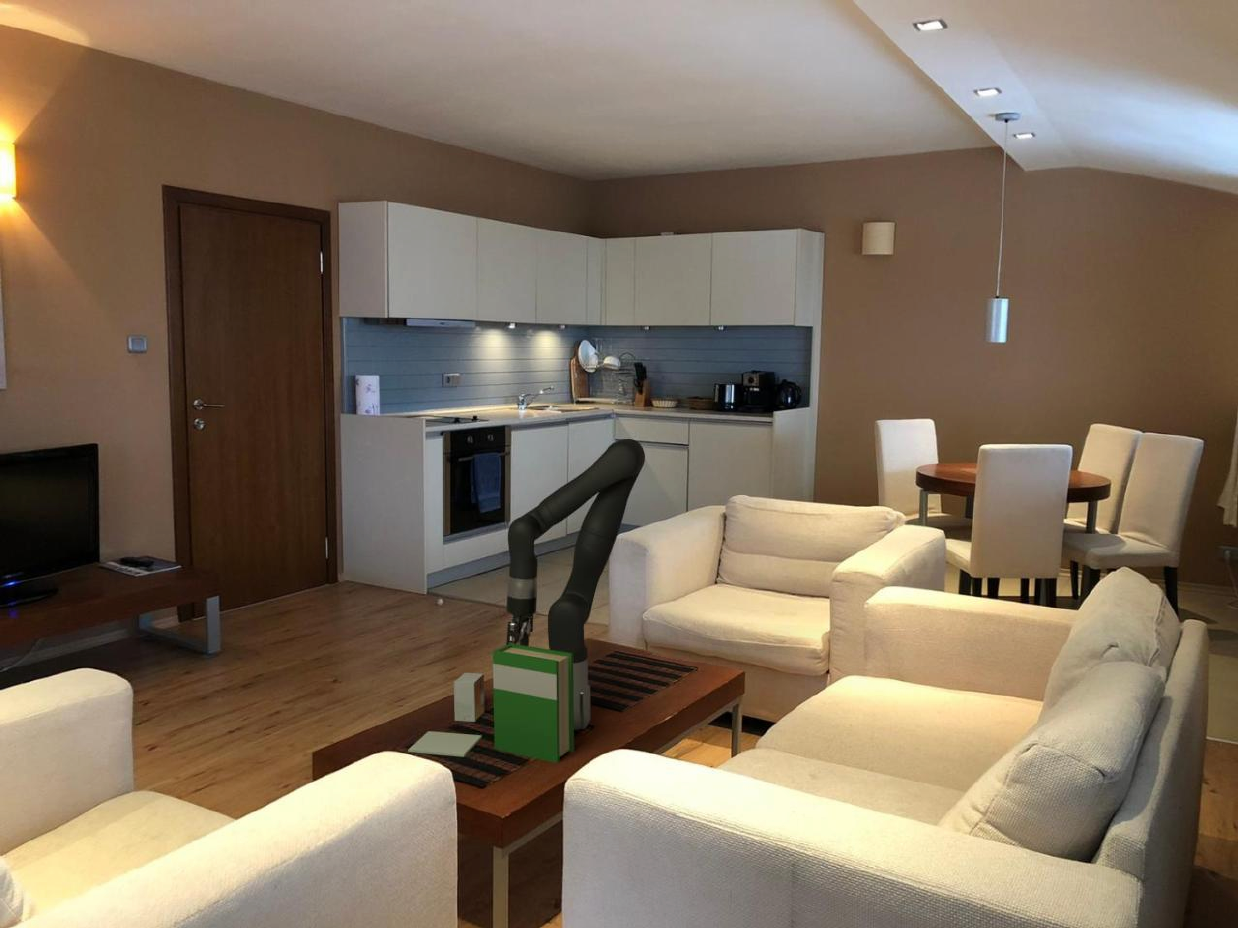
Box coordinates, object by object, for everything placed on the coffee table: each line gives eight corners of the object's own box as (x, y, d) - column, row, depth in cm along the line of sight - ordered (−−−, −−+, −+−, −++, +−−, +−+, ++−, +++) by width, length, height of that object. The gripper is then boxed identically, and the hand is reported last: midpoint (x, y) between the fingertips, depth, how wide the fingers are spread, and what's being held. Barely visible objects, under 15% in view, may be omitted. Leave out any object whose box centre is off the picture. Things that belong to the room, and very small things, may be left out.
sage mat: (481, 737, 247) (481, 735, 247) (463, 756, 235) (463, 754, 235) (428, 733, 250) (428, 731, 250) (408, 751, 238) (408, 749, 238)
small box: (474, 722, 257) (474, 682, 256) (454, 721, 258) (453, 681, 257) (485, 711, 265) (484, 673, 264) (465, 710, 266) (464, 671, 265)
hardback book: (573, 751, 238) (573, 653, 235) (557, 763, 232) (556, 661, 229) (512, 738, 246) (510, 643, 244) (494, 748, 240) (492, 651, 237)
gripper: (527, 602, 247) (524, 665, 249) (544, 588, 260) (541, 649, 263) (498, 598, 248) (495, 662, 250) (516, 585, 262) (513, 645, 264)
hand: (518, 655), depth 256 cm, fingers open, 8 cm apart
